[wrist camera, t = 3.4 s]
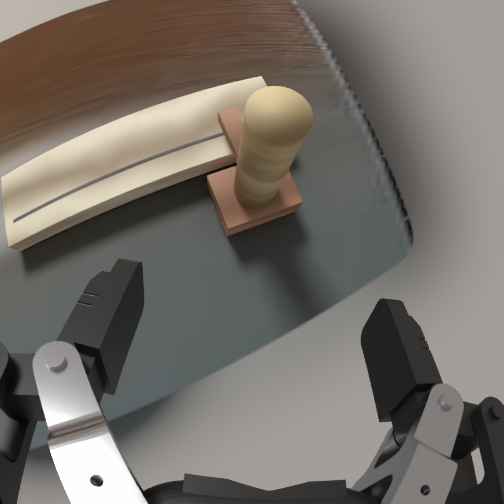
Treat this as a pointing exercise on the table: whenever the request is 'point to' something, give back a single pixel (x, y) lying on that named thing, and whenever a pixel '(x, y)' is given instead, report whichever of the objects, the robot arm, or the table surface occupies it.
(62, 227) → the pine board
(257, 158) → the marking gauge
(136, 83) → the table surface
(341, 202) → the table surface
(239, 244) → the table surface
